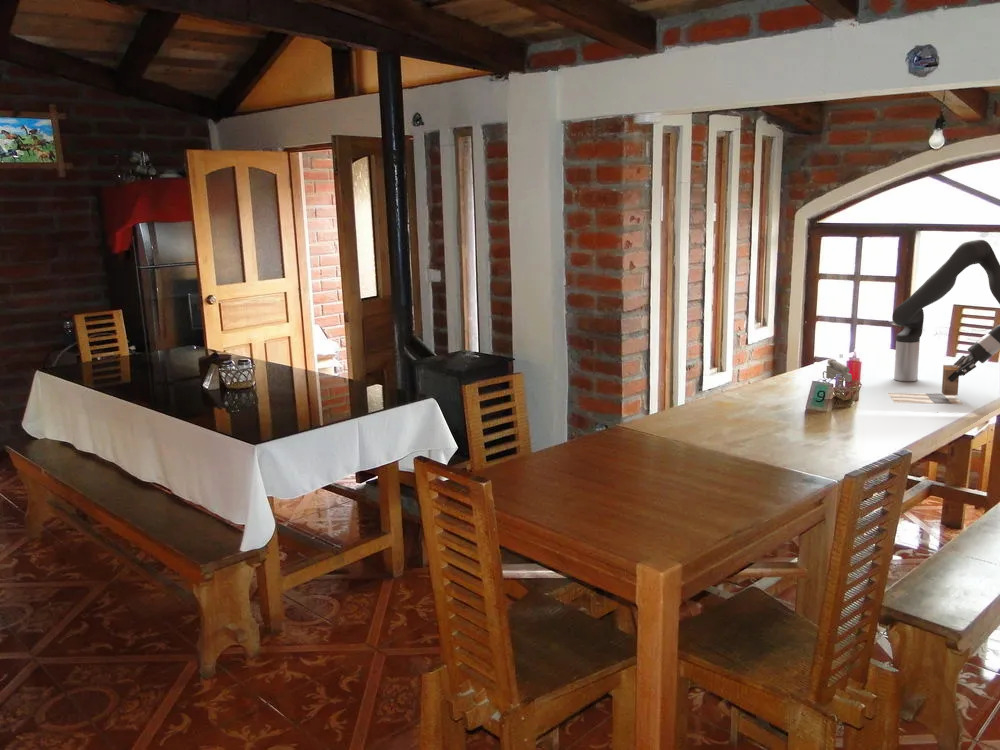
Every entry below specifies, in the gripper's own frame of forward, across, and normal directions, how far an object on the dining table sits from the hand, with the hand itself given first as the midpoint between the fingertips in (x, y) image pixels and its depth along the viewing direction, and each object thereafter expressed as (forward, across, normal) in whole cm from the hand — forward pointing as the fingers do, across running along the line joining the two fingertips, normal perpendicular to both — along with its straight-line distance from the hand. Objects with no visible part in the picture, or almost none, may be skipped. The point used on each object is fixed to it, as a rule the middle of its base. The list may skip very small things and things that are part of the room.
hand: (948, 378), depth 320 cm
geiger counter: (+35, -11, -21) cm, 43 cm away
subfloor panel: (+12, 0, +1) cm, 12 cm away
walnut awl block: (+4, 0, +5) cm, 6 cm away
